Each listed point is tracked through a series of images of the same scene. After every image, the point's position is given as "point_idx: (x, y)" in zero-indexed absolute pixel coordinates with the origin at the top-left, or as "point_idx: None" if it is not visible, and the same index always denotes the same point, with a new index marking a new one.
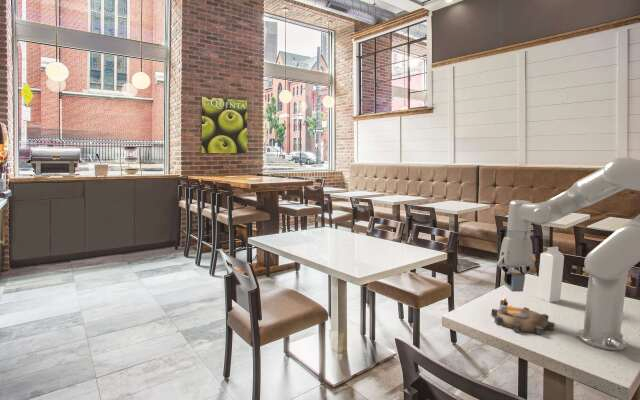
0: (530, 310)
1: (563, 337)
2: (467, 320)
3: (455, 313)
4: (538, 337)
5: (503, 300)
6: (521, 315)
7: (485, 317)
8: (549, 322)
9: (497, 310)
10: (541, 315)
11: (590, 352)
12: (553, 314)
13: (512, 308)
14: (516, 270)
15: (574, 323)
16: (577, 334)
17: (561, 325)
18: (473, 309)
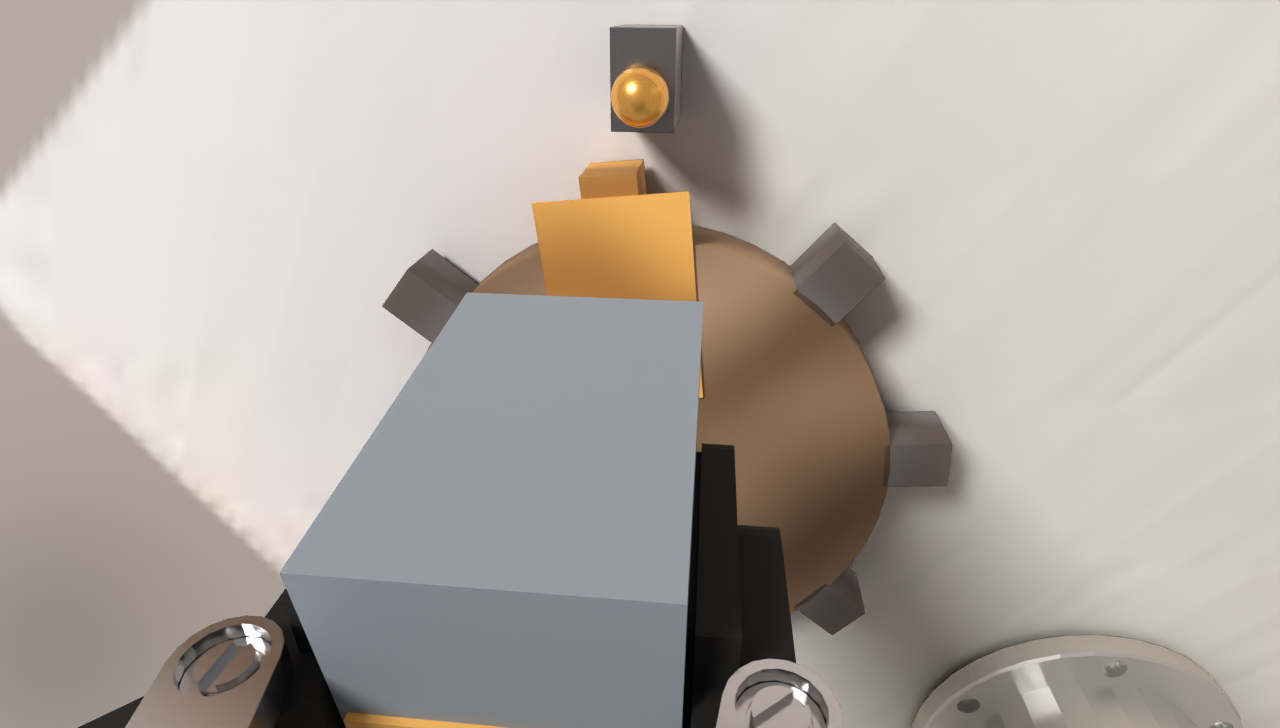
0: (850, 346)
1: (824, 668)
2: (157, 359)
3: (49, 194)
4: None
5: (614, 110)
6: None
7: (342, 307)
8: (827, 601)
9: (445, 321)
10: (874, 472)
11: None
12: (1191, 273)
13: (653, 284)
14: (637, 667)
15: (1188, 489)
16: (945, 694)
17: (1003, 512)
18: (259, 82)
